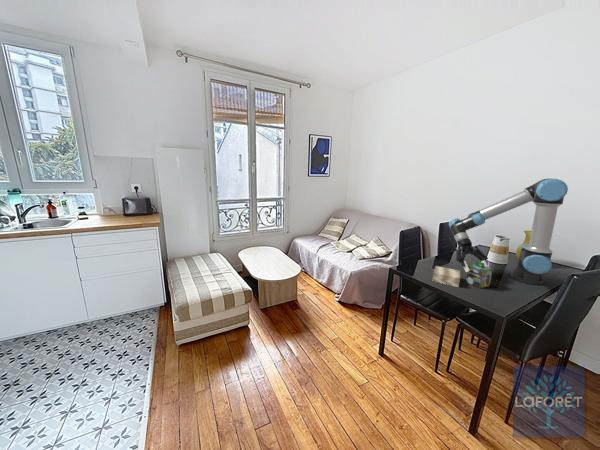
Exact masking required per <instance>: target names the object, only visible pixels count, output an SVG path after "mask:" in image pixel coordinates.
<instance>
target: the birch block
mask: <svg viewBox="0 0 600 450" xmlns="http://www.w3.org/2000/svg"><path fill="white" fill-rule="evenodd" d="M431 281H432V282H433V281H435V282H434V283H438V282H439V283H438V284H442V283H443V284H444V285H446V284H447V286H451V287H456V288H459V285H460V281H461V270H458V269H453V268H449V267H443V266H439V265H435V266H434V270H433V273H432V280H431Z"/></svg>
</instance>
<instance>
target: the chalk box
mask: <svg viewBox="0 0 600 450" xmlns="http://www.w3.org/2000/svg"><path fill="white" fill-rule="evenodd" d="M468 267H469V269H470V271H469V272H466V277H465V283H467V284H469V285H471V286H473V287H476V288H478V289H482V288H486V287H490V286H491V280H492V276H493V275H492V274H493V268H492V267H489V266H488V267H486V266H484V263H482V262H481V261H480V260H476V261H475V264H474V263H473V264H469V265H468Z"/></svg>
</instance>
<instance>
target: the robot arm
mask: <svg viewBox="0 0 600 450" xmlns="http://www.w3.org/2000/svg"><path fill="white" fill-rule="evenodd" d="M568 188H569V187H568V185H567V183H566V182H565V181H563V180H561V179H558V178H543V179H541V180H538V181H537V182H535V183H533V184H532V185H530V186H528V187H525V188H524V190H523V191H520V192H518V193H516V194H514V195H511V196H509V197H506V198H505V199H501V200H500V201H497V202H495V203H493V204H491V205H488V206H486V207H483V208H481V209H479V210H477V211H473V212H471V213H469V214H468V215H467V217H466V218H463V219H460V218H453V219H451V220H449V222H448V226H449V229H450V231H451V233H452V235H453V237H454V239H455V242H456V244H457V247H455V250H456V260H455V261H456V262H458V263H459V264H461V266H462V267H463V269H464V271H465V273H467V272H469V271H470V269H469V267H468V266H469V265H468V264H467V261H466V260H465V259H466V255H472V256H474V257H475V258H477V260H478V261H480V262H482V263H484V266H486V267H489V263H488V262H487V260H488V259H489V258H488V256H487V255H486V254H484V253H483V252H482V250H481V249H480V248H479V247H478V246H477V245H476V246H472V245H473V244H472V243H473V242H472V240H471V239H470V237H469V235H468V233H467V231H469V230H470V229H474V228H476V227H479V226H480V227H481V226H482V225H484V224H485V223H486V220H489V219H491V218H493V217H495V216H498V215H501V214H504V213H506V212H508V211H510V210H513V209H516V208H518V207H521V206H523V205H525V204H528V203H530V202H532V203H533V204H534V205H535V211H534V214H533V215H534V216H533V221H532V226H531V230H530V231H531V236H530V242H529V245H522V244H521V245H522V248H521V252H520V256H519V258H518V260H519V261H518V260H517V265H516V266H515V269H514V270H513V271H512V272H511V278H512V279H513V280H516V281H518V282H520V283H524V284H527V285H534V286H540V285H543V283H544V276H543V274H545V273H547V272H549V271H550V270H551V269H552V265H553V264H552V261H551V260H552V257H553V256H552V255H553V251H552V249H550V246H551V241H552V238H553V237H552V236H553V233H554V227H555V221H556V217H557V213H558V207H560V206H561V205H563V203H564V200H565V199H564V198H565V197H566V195H567V194H568V191H569V189H568Z"/></svg>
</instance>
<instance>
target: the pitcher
mask: <svg viewBox="0 0 600 450" xmlns="http://www.w3.org/2000/svg"><path fill="white" fill-rule="evenodd" d="M531 231H532V230H524V231H523V232H524V234H525V238H524V240H523V243H522V244H520V245H519V246H518V247H517V249H516V252H515V256H516V258H517V259H519V256H520V252H521V248H522V245H529V242H530V236H531Z"/></svg>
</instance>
